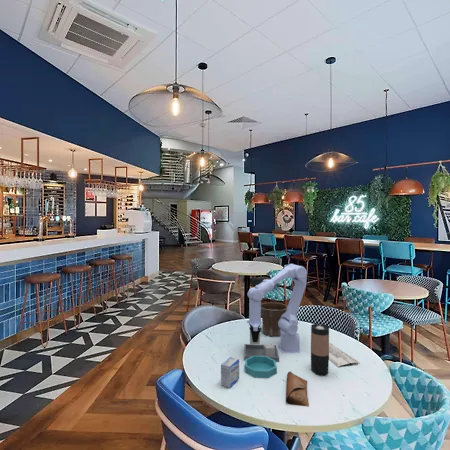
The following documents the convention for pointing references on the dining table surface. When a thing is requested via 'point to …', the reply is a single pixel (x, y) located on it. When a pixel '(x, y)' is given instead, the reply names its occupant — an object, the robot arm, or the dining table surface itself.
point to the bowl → (260, 366)
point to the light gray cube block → (269, 350)
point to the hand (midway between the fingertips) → (255, 339)
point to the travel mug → (319, 349)
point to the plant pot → (272, 318)
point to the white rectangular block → (252, 339)
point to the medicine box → (230, 372)
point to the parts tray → (258, 351)
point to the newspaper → (340, 357)
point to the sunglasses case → (296, 390)
